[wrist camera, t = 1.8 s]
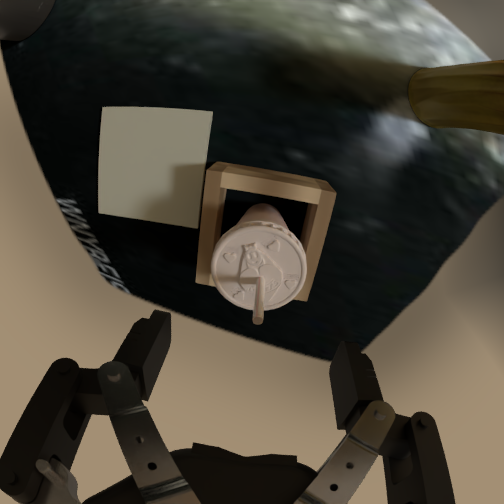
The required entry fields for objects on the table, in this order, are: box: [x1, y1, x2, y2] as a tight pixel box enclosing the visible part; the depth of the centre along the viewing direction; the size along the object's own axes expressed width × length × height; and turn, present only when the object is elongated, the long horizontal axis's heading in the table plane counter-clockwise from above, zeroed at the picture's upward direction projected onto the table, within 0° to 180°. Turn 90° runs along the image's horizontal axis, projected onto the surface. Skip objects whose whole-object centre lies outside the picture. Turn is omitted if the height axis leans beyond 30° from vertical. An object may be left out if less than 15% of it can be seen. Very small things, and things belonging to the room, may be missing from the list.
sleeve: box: [196, 162, 336, 301], centre depth 26 cm, size 10×10×4 cm
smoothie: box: [211, 203, 307, 324], centre depth 22 cm, size 6×6×14 cm
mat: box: [98, 107, 213, 229], centre depth 26 cm, size 11×11×1 cm
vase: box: [408, 60, 504, 135], centre depth 15 cm, size 6×6×14 cm
